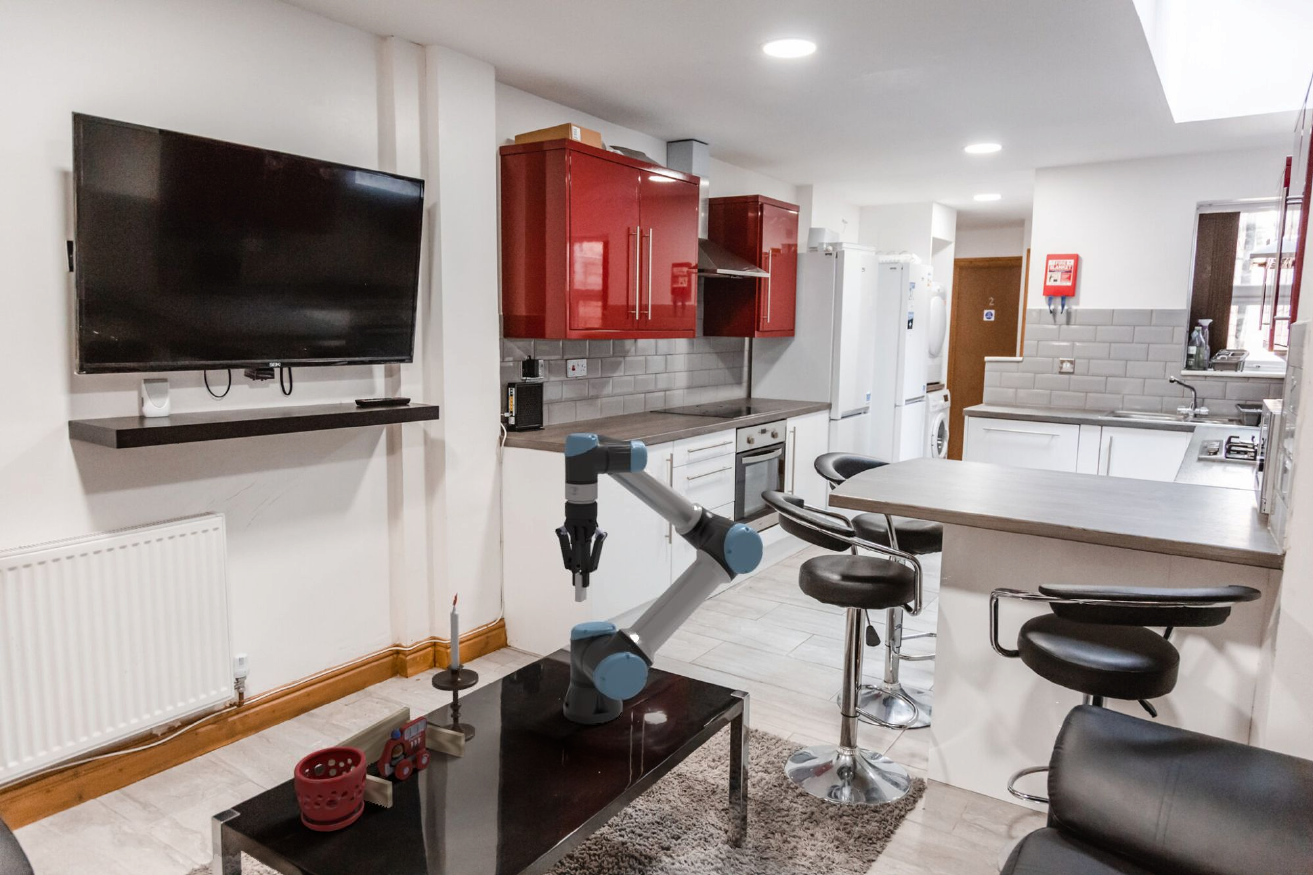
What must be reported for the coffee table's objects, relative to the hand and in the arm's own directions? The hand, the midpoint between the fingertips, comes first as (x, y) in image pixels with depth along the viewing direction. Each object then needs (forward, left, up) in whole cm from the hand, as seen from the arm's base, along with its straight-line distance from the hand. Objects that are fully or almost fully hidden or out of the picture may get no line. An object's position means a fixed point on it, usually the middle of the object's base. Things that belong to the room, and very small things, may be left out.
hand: (580, 600), depth 191 cm
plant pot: (+27, +50, -35) cm, 67 cm away
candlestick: (+28, +11, -35) cm, 46 cm away
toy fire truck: (+28, +29, -35) cm, 53 cm away
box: (+29, +30, -34) cm, 54 cm away
